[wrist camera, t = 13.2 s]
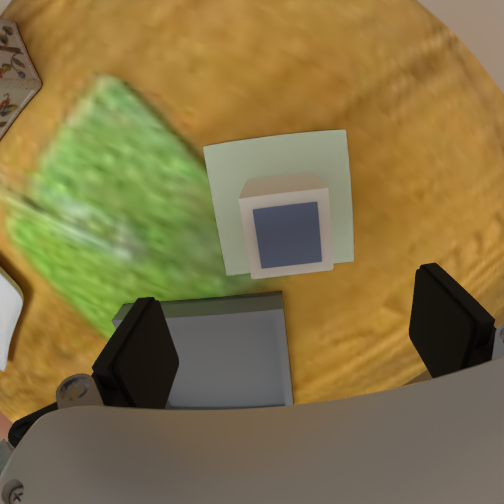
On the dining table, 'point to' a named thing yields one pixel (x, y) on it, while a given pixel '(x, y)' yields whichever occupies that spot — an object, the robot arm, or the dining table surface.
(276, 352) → the bin
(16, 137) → the dining table surface
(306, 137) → the mat
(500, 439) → the robot arm
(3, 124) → the decorative jar
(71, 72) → the dining table surface
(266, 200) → the labelled box
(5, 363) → the salad plate
